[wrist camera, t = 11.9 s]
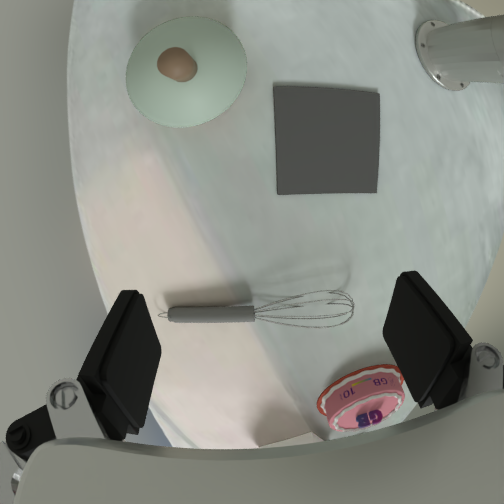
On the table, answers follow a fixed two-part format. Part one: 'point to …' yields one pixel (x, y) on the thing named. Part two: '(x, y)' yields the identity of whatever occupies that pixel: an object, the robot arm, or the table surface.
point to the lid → (186, 72)
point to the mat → (326, 140)
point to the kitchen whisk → (239, 313)
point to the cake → (362, 398)
